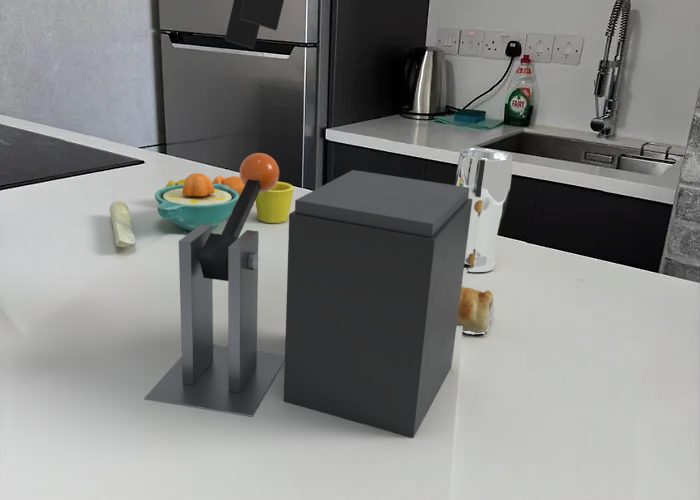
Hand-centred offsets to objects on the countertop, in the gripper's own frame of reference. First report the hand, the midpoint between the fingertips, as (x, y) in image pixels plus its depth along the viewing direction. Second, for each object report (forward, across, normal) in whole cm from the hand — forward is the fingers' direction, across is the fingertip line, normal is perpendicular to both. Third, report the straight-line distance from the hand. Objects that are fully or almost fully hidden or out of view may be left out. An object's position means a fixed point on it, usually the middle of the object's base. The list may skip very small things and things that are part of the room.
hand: (247, 36), depth 56 cm
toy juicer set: (+22, +44, -1) cm, 49 cm away
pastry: (+21, +8, -29) cm, 37 cm away
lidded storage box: (+27, -5, -17) cm, 32 cm away
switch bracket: (+29, -2, -4) cm, 30 cm away
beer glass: (+17, +23, -37) cm, 47 cm away
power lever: (+15, +1, -4) cm, 16 cm away
